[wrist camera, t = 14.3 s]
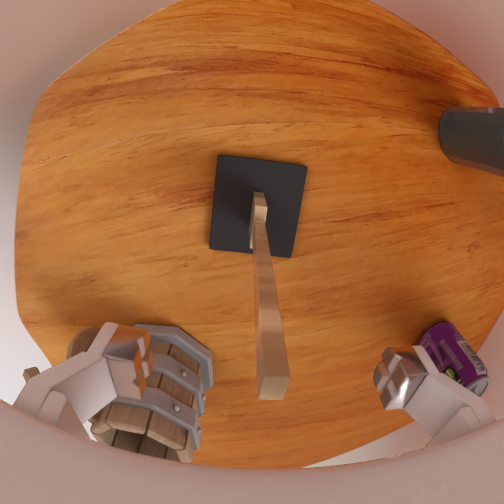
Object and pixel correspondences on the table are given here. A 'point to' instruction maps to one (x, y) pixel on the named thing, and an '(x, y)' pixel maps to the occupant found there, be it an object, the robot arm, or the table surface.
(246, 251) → the mat
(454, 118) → the cup
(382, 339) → the table surface
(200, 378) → the tankard
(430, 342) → the beverage can
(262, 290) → the wooden stir stick
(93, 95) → the table surface
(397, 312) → the table surface
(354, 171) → the table surface
